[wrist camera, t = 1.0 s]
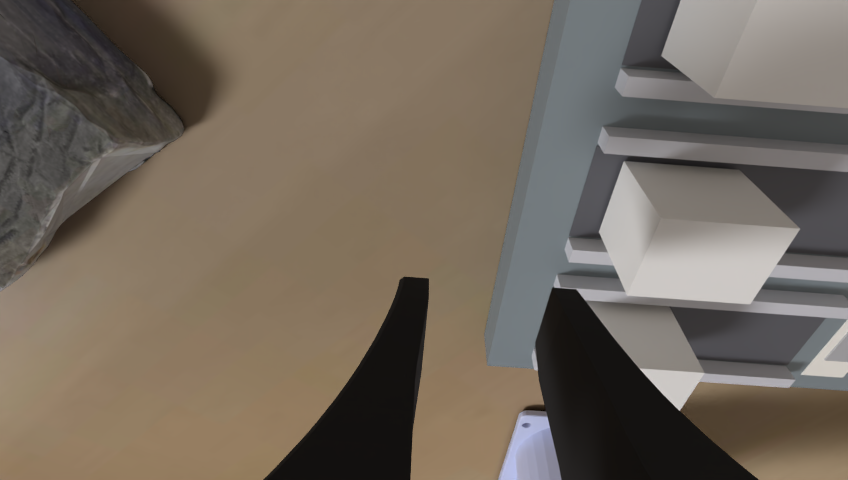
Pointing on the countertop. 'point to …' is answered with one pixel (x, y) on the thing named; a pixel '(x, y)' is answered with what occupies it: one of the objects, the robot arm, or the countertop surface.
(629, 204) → the tab middle
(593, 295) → the switch panel
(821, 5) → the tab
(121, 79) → the grey rock
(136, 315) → the countertop surface
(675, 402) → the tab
